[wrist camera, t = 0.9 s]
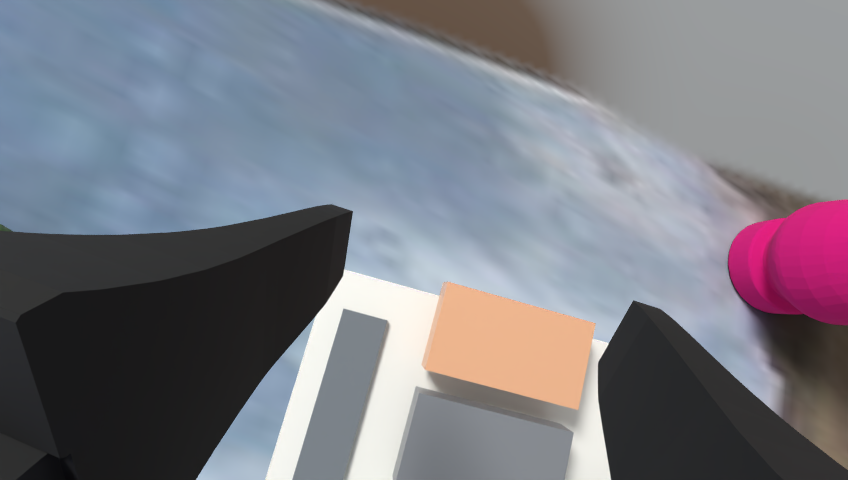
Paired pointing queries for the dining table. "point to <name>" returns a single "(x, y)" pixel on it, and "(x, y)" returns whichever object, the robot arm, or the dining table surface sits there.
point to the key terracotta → (509, 345)
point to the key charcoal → (478, 442)
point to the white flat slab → (395, 389)
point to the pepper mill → (796, 263)
